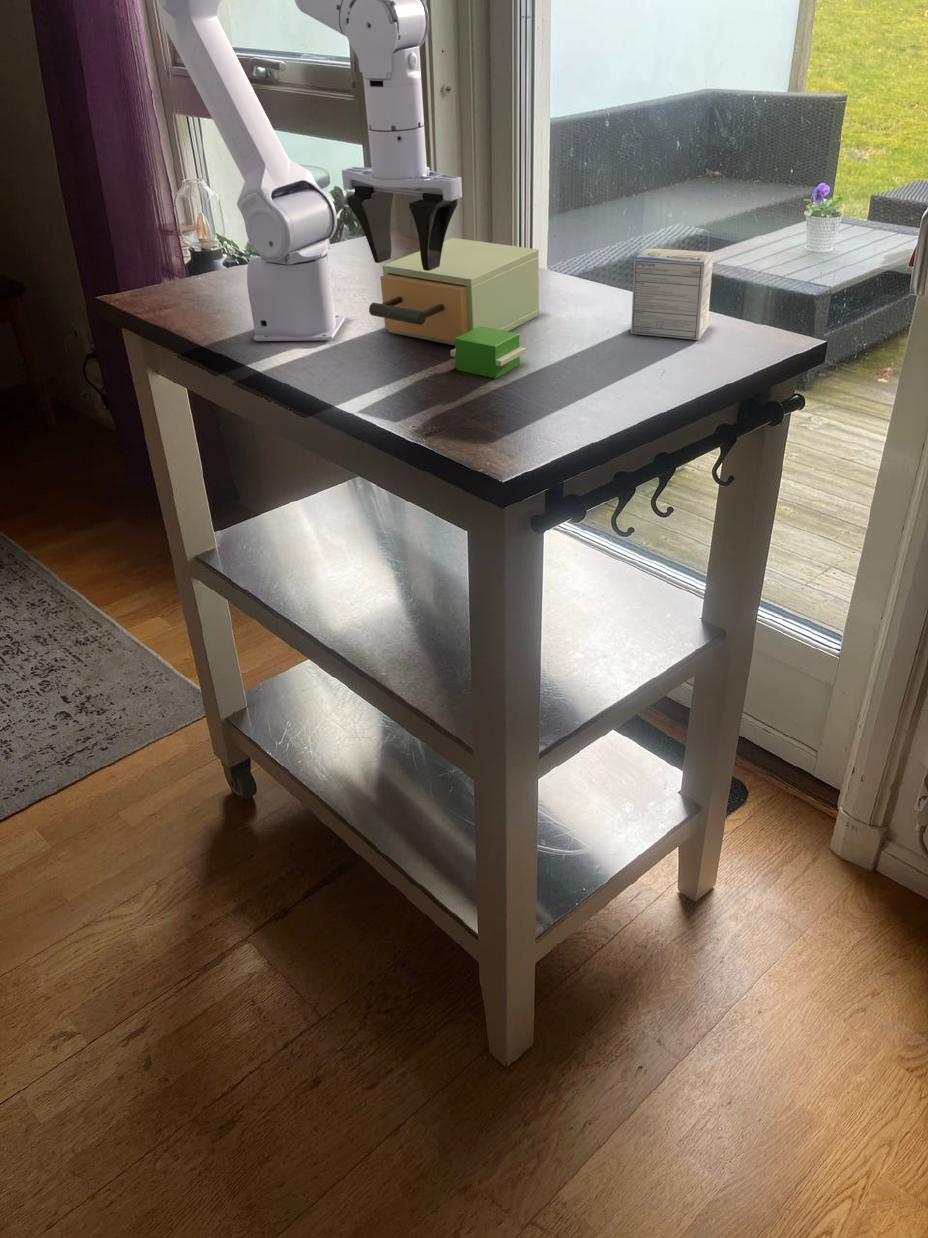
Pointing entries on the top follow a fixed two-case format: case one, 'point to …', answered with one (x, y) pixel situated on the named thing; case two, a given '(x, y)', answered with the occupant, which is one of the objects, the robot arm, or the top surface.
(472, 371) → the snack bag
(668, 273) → the medicine box
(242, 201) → the robot arm
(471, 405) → the top surface
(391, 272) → the cabinet
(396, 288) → the drawer
